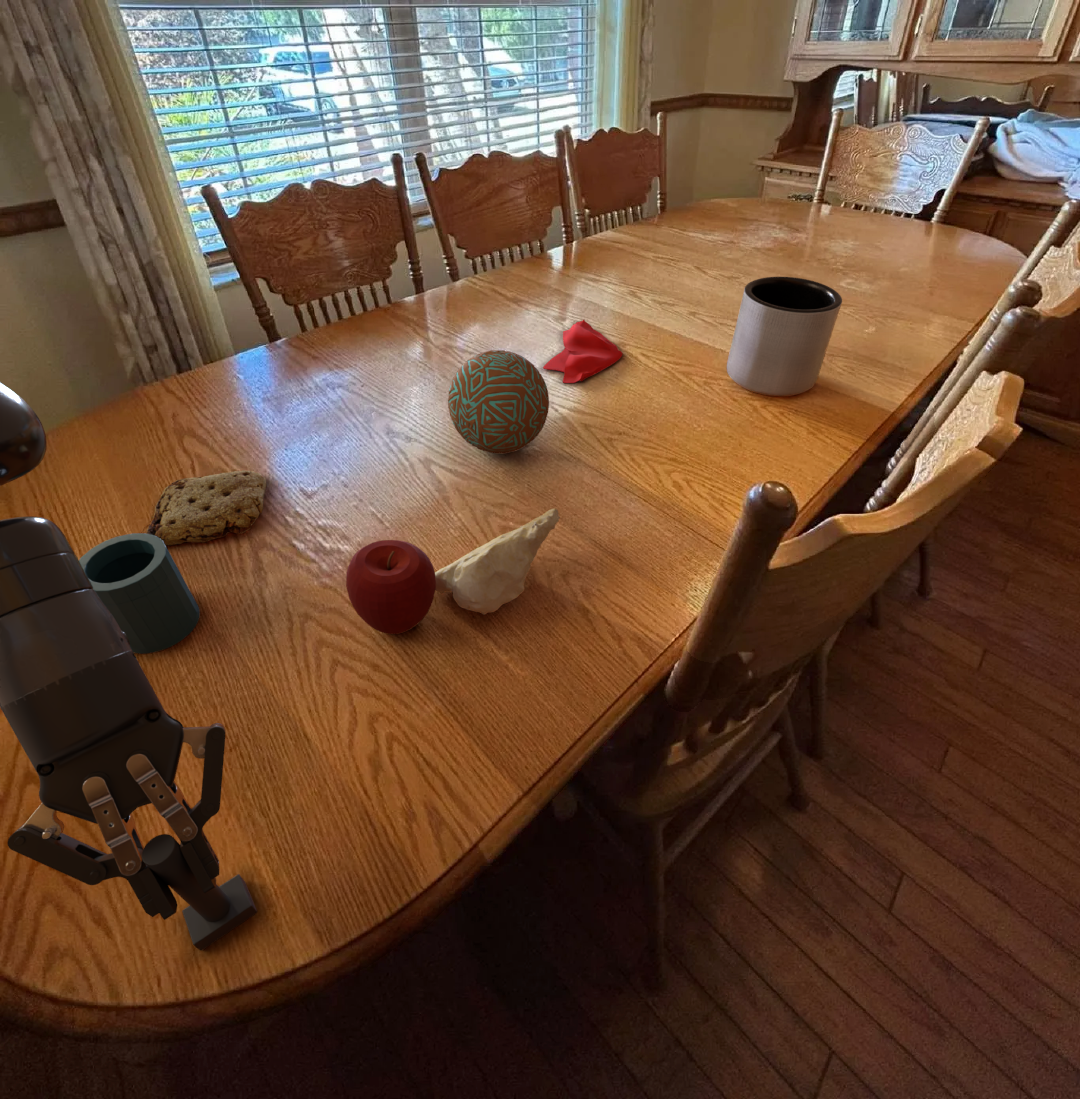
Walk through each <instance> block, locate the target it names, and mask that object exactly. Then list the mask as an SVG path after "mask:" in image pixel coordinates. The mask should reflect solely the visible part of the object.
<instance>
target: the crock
mask: <svg viewBox="0 0 1080 1099" xmlns="http://www.w3.org/2000/svg"><path fill="white" fill-rule="evenodd" d="M78 560H79V562H80V564H81V566H82V568H83V570H84V572H85V573H86V575H87V577H88V579H89V581H90V583H91V584H92V586H93V590H95V592H96V593H97V595H98V597H99V598H100V599H101V601H102V602H103V603H104V605H105V606H106V607H107V608H108V610H109V611H110V613H111V614H112V615H113V617H114V618H115V620H116V622H117V623H118V625H119V627H120V629H121V631H122V632H124V633H125V634H126V636H127V638H128V640H129V643H130V648H131V650H132V651H133V653H134V654H141V655H144V654H145V655H146V654H153V653H158V652H161V651H164V650H168V649H169V648H171V647H173V646H175V645H177V644H178V643H180V642H181V641H183V640H184V639H185V638H187V637H188V636H189V635H190V634H191V633H192V632H193V631H194V629H195V628H196V626H197V625H198V623H199V620H200V616H201V611H200V607H199V605H198V603H197V601H196V599H195V597H194V595H193V594H192V591H191V590H190V588H189V586H188V585H187V583H186V581H185V579H184V577H183V575H182V573H181V571H180V570H179V568H178V566H177V564H176V562H175V560H174V558H173V556H172V555H171V553H170V550H169V549H168V547H167V545H165V544H164V542H163V540H161V539H160V538H158V537H157V536H155V535H150V534H146V532H145V533H144V532H140V533H139V532H137V533H135V532H133V533H127V534H123V535H118V536H114V537H112V538H109V539H107V540H104V541H102V542H100V543H99V544H97V545H95V546H93V547H92V548H90V549H89V550H88V551H86V553H84V554H83V555H82V556H81V557H80V558H79V559H78Z"/></svg>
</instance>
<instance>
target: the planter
mask: <svg viewBox="0 0 1080 1099" xmlns="http://www.w3.org/2000/svg"><path fill="white" fill-rule="evenodd" d="M741 297H742V298H741V301H740V305H739V306H740V307H739V311H738V315H737V319H736V323H735V326H734V327H735V328H734V330H733V331H734V332H733V335H732V340H731V344H730V348H729V352H728V356H727V360H726V373H727V375H728V376H729V377H730V379H731V380H732V381H733V382H735V383H736V384H737V385H738V386H739V387H741V388H743V389H745V390H747V391H749V392H751V393H755V394H759V395H764V396H768V397H791V396H796V395H800V394H803V393H805V392H807V391H809V390H811V389H812V388H813V387H814V386H815V385H816V383H817V380H818V379H819V375H820V372H821V369H822V367H823V363H824V360H825V357H826V353H827V349H828V347H829V343H830V341H831V337H832V334H833V331H834V328H835V325H836V322H837V319H838V315H839V313H840V311H841V307H842V304H843V297H842V295H841V294H840V293H839V292H837V291H836V290H835V289H834V288H832V287H830V286H828V285H826V284H823V283H821V282H819V281H814V280H810V279H806V278H801V277H795V276H767V277H761V278H760V277H759V278H758V279H754V280H752V281H750V282H748V283H747V284H746V285H745V286H744V289H743V293H742V296H741Z"/></svg>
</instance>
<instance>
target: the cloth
mask: <svg viewBox="0 0 1080 1099" xmlns="http://www.w3.org/2000/svg"><path fill="white" fill-rule="evenodd" d="M562 342H563V347H564V349H563V350H562V351H561V352H559V353H558V354H556V355H554V356H553V357H551V359H550V360H548V361H547V362H546V363H545V364H544V366H542V369H543V370H550V371H558V372H561V373H564V374H563V379H562V383H563V384H576V383H578V382H584V381H585V380H586V379H589V378H590V377H592V376H594V375H596V374H598V373H600V372H602V371H604V370H605V369H607V368H608V367H610V366H612V365H614V364H615V363H617V362H618V361H619V360H621V358H622V357H623V354H624V353H623V352H622V351H621V350H619V348H618V346H617V345H616V344H614V343H613V342H612V341H611V340H609V339H608V338H607V337H606V336H605V335H603V334H602V333H601V332H600V331H598V330H596V329H594V328H593V326H591V325H590V324H589V323H588V322H587V321H586V320H585V319H582V320H580V321H576V322H575V323H573V324H572V325H571V327H570V328H569V329H566V330H563V331H562Z"/></svg>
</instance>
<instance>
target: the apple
mask: <svg viewBox="0 0 1080 1099" xmlns="http://www.w3.org/2000/svg"><path fill="white" fill-rule="evenodd" d="M435 572H436V571H435V568H434V565H433V562H432V560H430V558H429V556H428V555H427V553H426V552H425V551H423V550H422V549H421V548H420V547H418V546H416V545H415V544H413V543H411V542H409V541H404V540H399V539H385V540H384V539H382V540H377V541H374V542H371V543H368V544H367V545H365V546H363V547H361V548H360V549H359V550H357V551H356V552H355V553H354V555H352V558H351V559H350V562H349V564H348V566H347V568H346V575H345V576H346V578H345V579H346V580H345V582H346V583H345V587H346V591H347V595H348V599H349V601H350V604H351V605H352V607H353V609H354V610H355V612H356V613H357V615H358V616H359V617H360V618H361V620H362V621H364V622H365V624H367V625H368V626H369V627H370V628H372V629H374V630H375V631H377V632H379V633H383V634H386V635H399V634H402V633H405V632H407V631H409V630H412V629H413V628H414V627H416V626H418V624H420V622H421V621H423V619H424V618H425V617H426V615H427V614H428V612H429V611H430V609H431V608H432V604H433V602H434V598H435V595H436V590H435V589H436V577H435Z"/></svg>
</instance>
